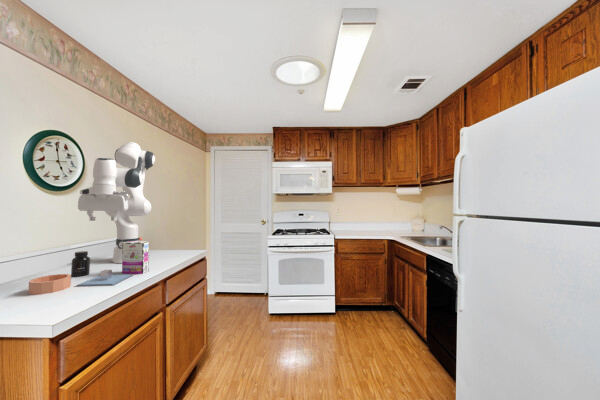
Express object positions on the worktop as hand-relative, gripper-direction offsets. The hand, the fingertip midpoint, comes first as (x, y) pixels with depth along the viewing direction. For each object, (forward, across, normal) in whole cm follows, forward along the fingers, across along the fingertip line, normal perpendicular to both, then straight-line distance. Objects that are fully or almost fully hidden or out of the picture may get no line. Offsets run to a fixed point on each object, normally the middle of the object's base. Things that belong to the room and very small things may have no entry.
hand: (103, 220), depth 115 cm
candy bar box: (+28, -9, -12) cm, 32 cm away
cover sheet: (+28, -3, +1) cm, 28 cm away
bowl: (+28, +12, +11) cm, 33 cm away
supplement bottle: (+28, +15, -9) cm, 33 cm away
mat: (+28, -3, +1) cm, 28 cm away
